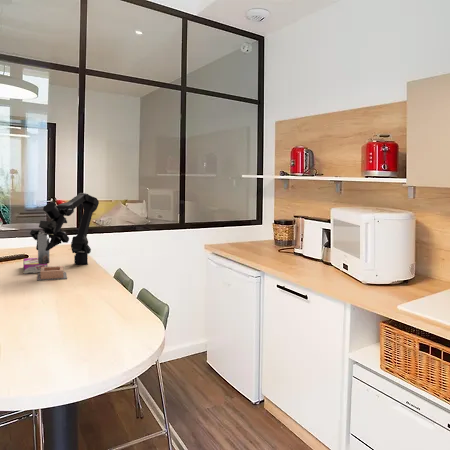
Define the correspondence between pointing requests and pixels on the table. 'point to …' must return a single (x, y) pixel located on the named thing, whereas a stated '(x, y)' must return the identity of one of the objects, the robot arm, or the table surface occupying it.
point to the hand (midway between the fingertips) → (41, 250)
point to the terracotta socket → (51, 273)
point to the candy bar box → (32, 265)
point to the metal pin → (43, 249)
